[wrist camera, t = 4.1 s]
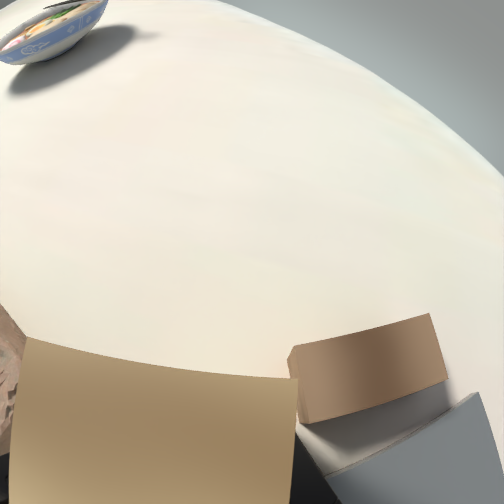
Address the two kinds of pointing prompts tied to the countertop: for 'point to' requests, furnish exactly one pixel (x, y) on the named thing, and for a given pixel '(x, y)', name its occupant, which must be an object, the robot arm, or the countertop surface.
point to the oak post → (146, 433)
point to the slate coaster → (431, 464)
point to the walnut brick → (365, 368)
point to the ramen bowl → (51, 31)
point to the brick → (9, 374)
